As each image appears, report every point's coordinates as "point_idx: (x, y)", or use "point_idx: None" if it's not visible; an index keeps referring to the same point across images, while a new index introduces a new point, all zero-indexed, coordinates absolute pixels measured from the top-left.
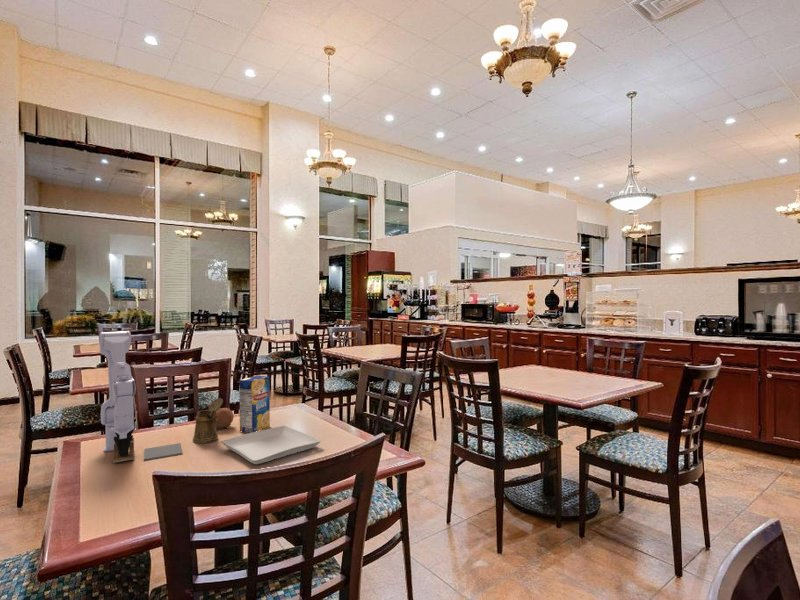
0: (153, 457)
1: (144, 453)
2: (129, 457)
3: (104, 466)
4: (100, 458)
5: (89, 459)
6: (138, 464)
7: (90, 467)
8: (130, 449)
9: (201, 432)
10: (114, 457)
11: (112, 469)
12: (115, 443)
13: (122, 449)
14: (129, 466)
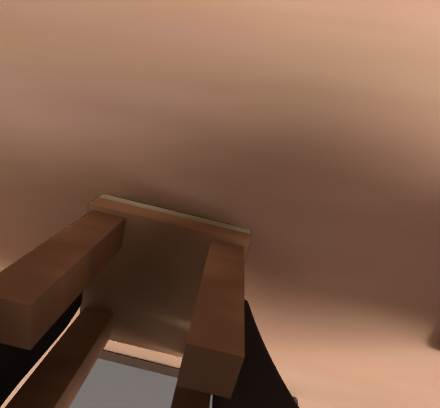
0: None
1: None
2: (85, 301)
3: (119, 129)
4: (370, 139)
5: (433, 48)
6: None
7: (170, 24)
8: (47, 361)
9: None
10: (88, 217)
11: (12, 164)
12: (193, 319)
13: None
14: (15, 259)
